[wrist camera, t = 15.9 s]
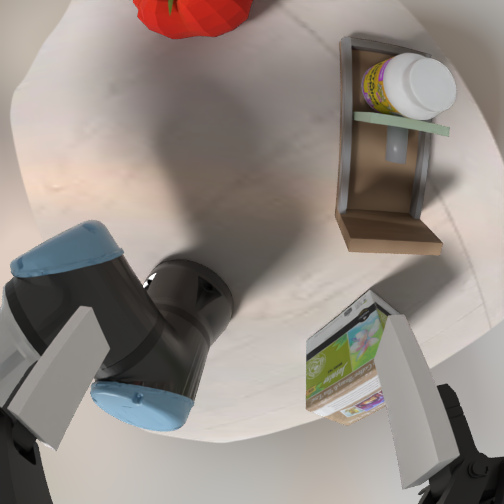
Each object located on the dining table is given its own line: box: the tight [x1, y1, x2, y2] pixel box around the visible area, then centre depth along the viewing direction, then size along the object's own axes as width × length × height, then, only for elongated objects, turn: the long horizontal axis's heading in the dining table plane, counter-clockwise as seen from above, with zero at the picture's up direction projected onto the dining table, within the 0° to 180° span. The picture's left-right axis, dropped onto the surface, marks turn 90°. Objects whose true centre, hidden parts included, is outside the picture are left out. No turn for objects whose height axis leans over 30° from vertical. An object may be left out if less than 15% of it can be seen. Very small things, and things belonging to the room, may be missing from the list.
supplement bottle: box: [361, 53, 457, 120], centre depth 21 cm, size 7×7×13 cm
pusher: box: [352, 112, 450, 164], centre depth 26 cm, size 5×9×8 cm, turn 91°
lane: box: [335, 37, 443, 255], centre depth 26 cm, size 23×11×10 cm, turn 1°
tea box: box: [306, 289, 401, 426], centre depth 39 cm, size 15×10×15 cm, turn 144°
